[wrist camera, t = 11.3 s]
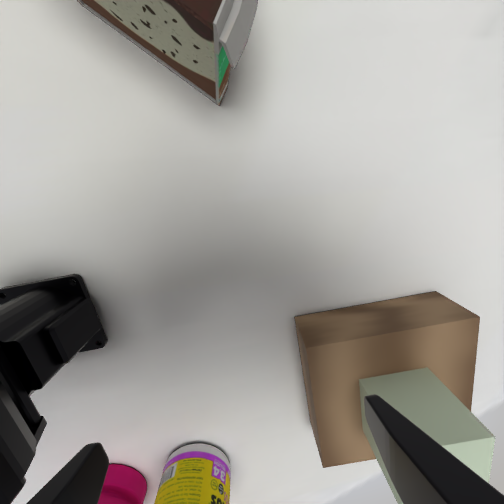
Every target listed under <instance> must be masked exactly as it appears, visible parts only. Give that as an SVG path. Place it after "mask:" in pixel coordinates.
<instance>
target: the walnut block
mask: <svg viewBox="0 0 504 504" xmlns="http://www.w3.org/2000/svg"><path fill="white" fill-rule="evenodd" d="M294 318H295V324H296V331H297V337H298V344H299V350H300V357H301V363H302V370H303V376H304V383H305V389H306V396H307V402H308V409H309V416H310V422H311V426H312V429H313V433H314V437H315V440H316V444H317V447H318V451H319V455H320V458H321V462H322V465H323V468H325V467H331V466H337V465H343V464H349V463H355V462H361V461H367V460H372V459H376V457H375V455H374V453H373V450H372V448H371V446H370V444H369V442H368V440H367V438H366V436H365V434H364V432H363V427H362V414H361V400H360V386H359V379H365V378H370V377H376V376H382V375H387V374H393V373H399V372H404V371H410V370H416V369H421V368H427V367H428V369H429V370H430V371H431V372H432V373H433V374H434V375H435V376H436V377H437V378H438V379H439V380H440V381H441V382H442V383H443V384H444V385H445V386H446V387H447V388H448V389H449V390H450V391H451V392H452V393H453V394H454V395H455V396H456V397H457V398H458V399H459V400H460V401H461V402H462V403H463V404H464V405H465V406H466V407H467V408H468V409H469V410H470V411H471V404H472V394H473V384H474V373H475V363H476V353H477V342H478V332H479V322H480V317H479V316H477V315H476V314H474V313H472V312H471V311H469V310H467V309H465V308H464V307H462V306H460V305H459V304H457V303H455V302H453V301H452V300H450V299H448V298H447V297H445V296H443V295H441V294H440V293H438V292H436V291H434V292H429V293H423V294H418V295H412V296H407V297H401V298H396V299H390V300H385V301H379V302H374V303H368V304H363V305H357V306H352V307H346V308H341V309H335V310H330V311H324V312H319V313H313V314H308V315H302V316H297V317H294Z"/></svg>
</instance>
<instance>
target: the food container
mask: <svg viewBox="0 0 504 504" xmlns="http://www.w3.org/2000/svg"><path fill="white" fill-rule="evenodd" d="M77 1H78V2H79V3H80V4H81V5H82V6H84V7H85V8H86V9H88V10H89V11H90V12H92V13H93V14H94V15H96V16H97V17H99V18H100V19H101V20H103V21H104V22H105V23H107V24H108V25H109V26H111V27H112V28H114V29H115V30H116V31H118V32H119V33H120V34H122V35H123V36H124V37H126V38H127V39H129V40H130V41H131V42H133V43H134V44H135V45H137V46H138V47H139V48H141V49H142V50H144V51H145V52H146V53H148V54H149V55H150V56H152V57H153V58H154V59H156V60H157V61H159V62H160V63H161V64H163V65H164V66H165V67H167V68H168V69H169V70H171V71H172V72H174V73H175V74H176V75H178V76H179V77H180V78H182V79H183V80H184V81H186V82H187V83H189V84H190V85H191V86H193V87H194V88H195V89H197V90H198V91H200V92H201V93H202V94H204V95H205V96H206V97H208V98H209V99H210V100H212V101H213V102H215V103H216V104H217V105H219V106H220V103H221V101H222V99H223V97H224V95H225V92H226V90H227V87H228V81H229V75H230V69H231V67H232V68H234V69H235V68H236V65H237V63H238V61H239V59H240V56H241V54H242V52H243V50H244V48H245V45H246V43H247V40H248V37H249V33H250V30H251V27H252V23H253V20H254V17H255V13H256V10H257V4H258V0H77Z"/></svg>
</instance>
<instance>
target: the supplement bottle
mask: <svg viewBox="0 0 504 504" xmlns="http://www.w3.org/2000/svg"><path fill="white" fill-rule="evenodd" d="M229 499H230V464H229V461H228V459H227V457H226V456H225V454H224V453H223V452H222V451H220V450H219V449H218V448H216V447H214V446H211V445H207V444H200V443H198V444H190V445H186V446H183V447H181V448H179V449H177V450H176V451H175V452H173V453H172V454H171V456H170V457H169V458H168V460H167V462H166V464H165V467H164V471H163V474H162V478H161V481H160V485H159V488H158V492H157V496H156V500H155V503H154V504H229Z"/></svg>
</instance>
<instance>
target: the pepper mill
mask: <svg viewBox="0 0 504 504" xmlns="http://www.w3.org/2000/svg"><path fill="white" fill-rule="evenodd" d="M146 491H147V484H146V480H145V479H144V477H143V476H142V475H141V474H140V473H139V472H138V471H136V470H135V469H133V468H131V467H128V466H125V465H117V464H110V465H109V466H108V470H107V474H106V477H105V480H104V484H103V487H102V491H101V494H100V498H99V501H98V504H143V501H144V498H145V495H146Z"/></svg>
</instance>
